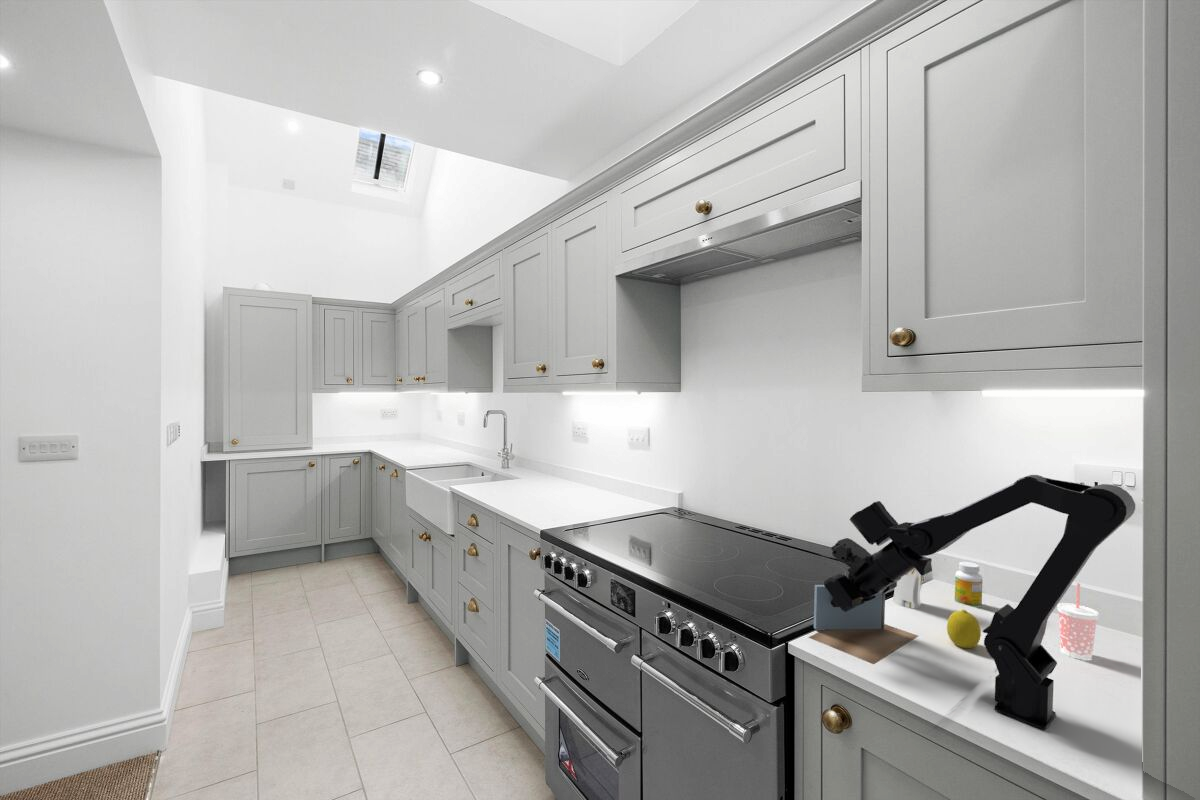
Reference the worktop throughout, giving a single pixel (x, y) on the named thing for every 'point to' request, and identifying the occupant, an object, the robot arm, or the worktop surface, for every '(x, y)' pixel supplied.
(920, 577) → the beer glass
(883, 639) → the brown flat rectangle
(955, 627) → the lemon
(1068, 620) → the beverage cup
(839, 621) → the door
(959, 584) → the supplement bottle
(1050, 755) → the worktop surface
